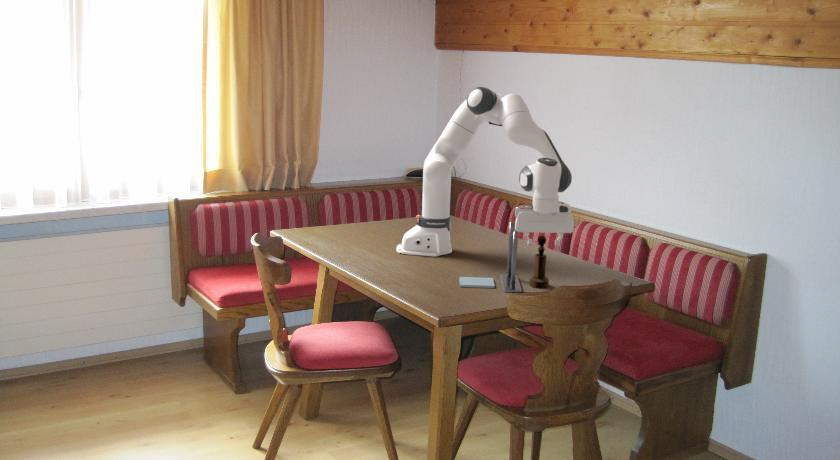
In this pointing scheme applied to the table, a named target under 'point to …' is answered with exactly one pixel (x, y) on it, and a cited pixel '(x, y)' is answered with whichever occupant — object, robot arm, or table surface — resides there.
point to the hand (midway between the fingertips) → (543, 244)
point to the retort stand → (511, 264)
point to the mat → (476, 282)
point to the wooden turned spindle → (540, 267)
